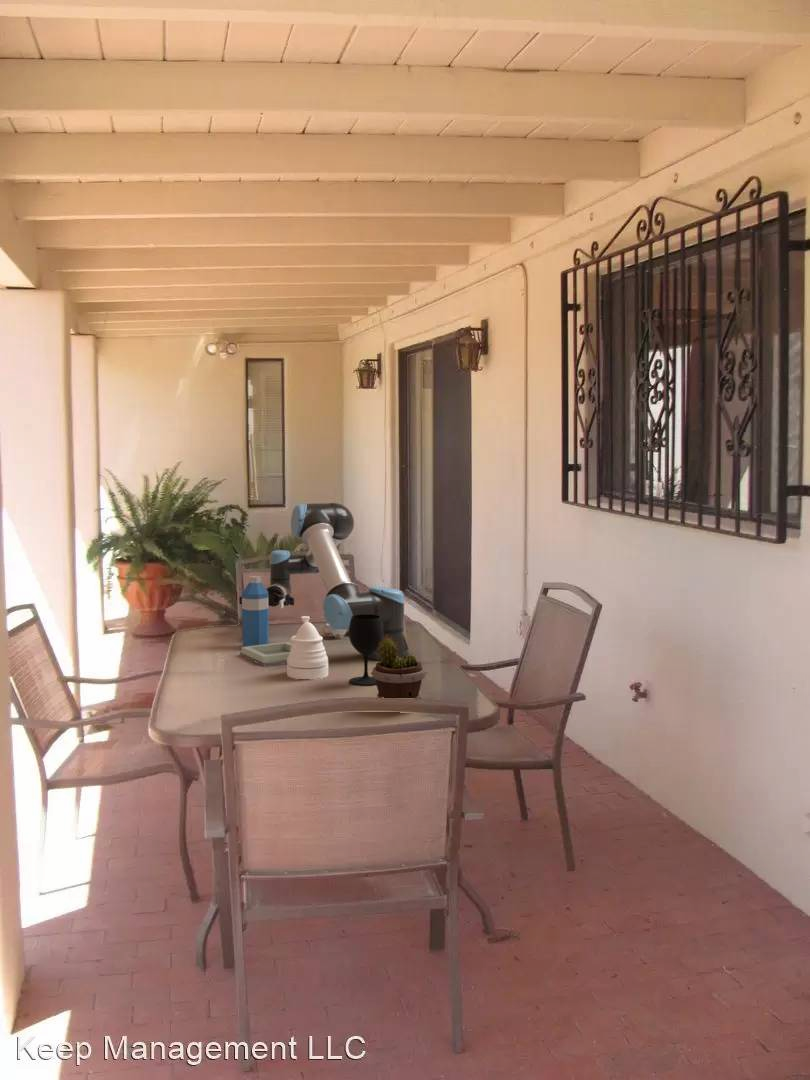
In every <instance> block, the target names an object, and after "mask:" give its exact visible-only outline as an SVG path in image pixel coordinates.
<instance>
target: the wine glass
mask: <svg viewBox="0 0 810 1080" xmlns="http://www.w3.org/2000/svg"><path fill="white" fill-rule="evenodd" d="M348 639H349V642H350V643H351V646H352V647H353V648H354V650H356V651H357V652H358V653H359V654H360V655H362V656H363V662H364V664H363V666H364V667H363V668H364V671H363V675H362V676H355V677H352V678H350V679H349V680H348V683H350V684H351V685H355V686H358V685H359V686H360V687H371V686H373V687H374V686H377V684H376V679H374V678H373V676H370V675H369V672H368V669H369V667H368V665H369V664H368V663H369V658H368V657H369V655H370V654H371V653H373V652H374V651H375V650H376V649H377V648H378V646H380V643H381V642H382V639H383V625H382V620H381V617H380V616H378V615H372V614H361V615H354V616H352V618H351V621H350V625H349V632H348Z"/></svg>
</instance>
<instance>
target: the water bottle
mask: <svg viewBox="0 0 810 1080" xmlns="http://www.w3.org/2000/svg"><path fill="white" fill-rule="evenodd" d="M241 597H242V604H241V619H242V621H241V622H242V623H241V626H242V627H241V628H242V629H241V630H242V631H241V633H242V647H247V646H255V645H263V644H270V643H269V641H270V634H269V633H270V632H269V631H270V629H269V623H270V622H269V605H268V591H267V588H266V587H265V586H264V584H263V583H262V578H261V576H260V575H251V576H248V583H247V585H246V586H245V588H244V590H243V591H242V593H241Z"/></svg>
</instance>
